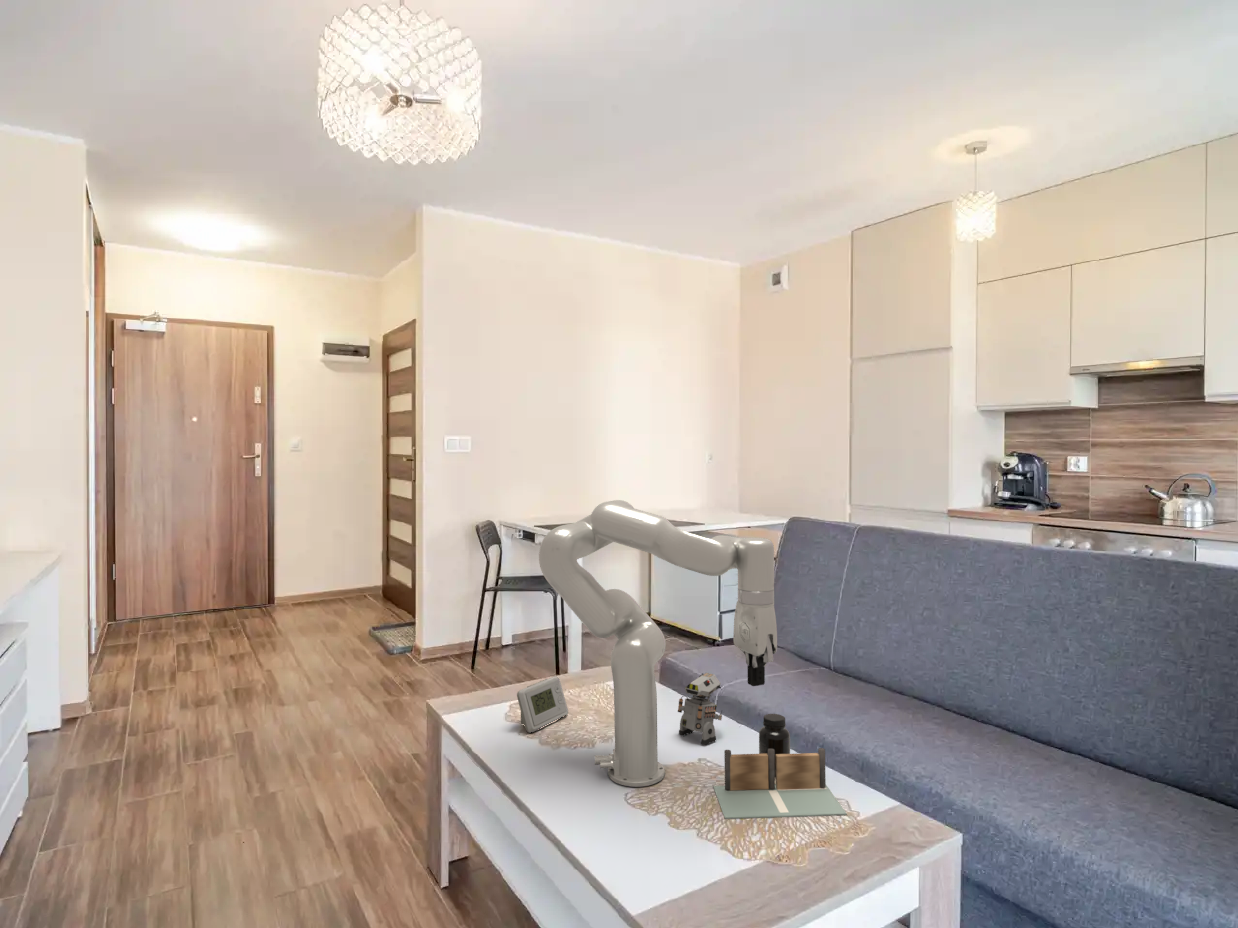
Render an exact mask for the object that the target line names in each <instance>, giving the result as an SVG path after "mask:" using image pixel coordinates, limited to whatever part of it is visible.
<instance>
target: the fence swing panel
mask: <svg viewBox="0 0 1238 928" xmlns="http://www.w3.org/2000/svg"><path fill="white" fill-rule="evenodd" d="M723 757H724V786H725V790H728V791H730V790H758V789H768V788H769V789H775V784H776V776H775V750H774V749H768V755H767V754H759V753H739V754H736V753H735V754H732V750H730V749H725V750H724V756H723Z"/></svg>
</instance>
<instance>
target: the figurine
mask: <svg viewBox="0 0 1238 928" xmlns="http://www.w3.org/2000/svg"><path fill="white" fill-rule="evenodd" d="M721 684H722V683H721V682H720V681H719V679H718V678H717V676H716V675H715V674H714V673H709V672H705V673H704V672H702V673H701V674H700V675H699V676H698V677H697V678H696V679H694V680H693V681H692V682H690V683H688V685H686V686H685V688H684V691H685V694H688V695H690V696H691V695H692V697H691V698H688V696H686V695H685V697H686V698H684V700H683V697H684V695H682V696H681V697H680V698H679V699H678V708H677V713H683V714H682V716H681V718H680V721H679V729H678V735H679V736H681V737H685V736H687V735H691V734H693V733H694V732H699V733H701V739H700V744H701V745H704V746H707V745H710V743H711V744H714V743H715V742H716V741H717V736H716V729H715V726H714V721H716V720H717V721H722V718H723V713H722V712H723V711H721V712H720V714H717V713H716V712H717V706H718V705H717V704H716V703H715V702H712V701H710V698H711V697H712V695H711V694H713V693H714V692H715V691H717V690H718V689H721V687H722V686H721ZM683 704H684V705H683Z"/></svg>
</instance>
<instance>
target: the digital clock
mask: <svg viewBox="0 0 1238 928" xmlns="http://www.w3.org/2000/svg"><path fill="white" fill-rule="evenodd" d="M516 697H517V700H518V705H519V709H520V725H521V724H524V725H525V726H524V727H525V730H526V732H527V733H529V734H530V733H531V732H532V733H534V732H535V731H536V732H537V731H539V730H538V729H540V728H541V727H543V726H545V725H547V724H549V723H551V722H553V721H555V720H557V719H559V718H561V717H563V716H565V715H567V716H568V714H569V708H568V705H567V701H566V697H565V694H564V690H563V687H562V684H561V680H560V677H559V676H557V675H556V676H552V677H549V678H545V679H543V680H540V681H538V682H535V683H533V684H530V685H528V686H526V687H524V688H522V689H520V690H519V691H517V693H516ZM565 717H566V716H565ZM563 718H564V717H563ZM561 719H562V718H561ZM540 730H541V729H540Z"/></svg>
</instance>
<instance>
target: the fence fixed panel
mask: <svg viewBox="0 0 1238 928" xmlns="http://www.w3.org/2000/svg"><path fill="white" fill-rule="evenodd" d="M817 750H818V751H817V752H812V753H811V752H809V753H807V752H805V753H804V752H803V753H790V754H776V776H775V784H776V788H777V790H785V789H818V788H822V789H824V788H826V785H827V784H826V783H827V782H826V749H825V748H823V747H819V748H817Z"/></svg>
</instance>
